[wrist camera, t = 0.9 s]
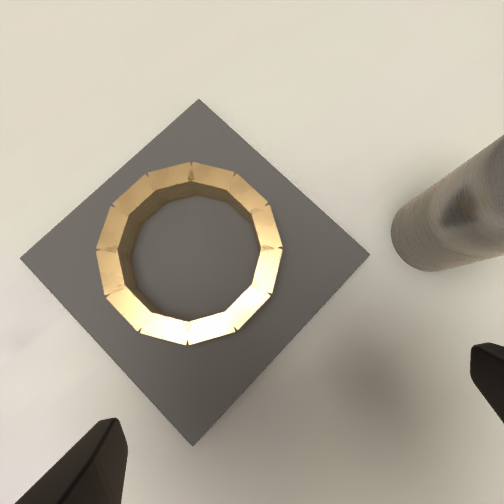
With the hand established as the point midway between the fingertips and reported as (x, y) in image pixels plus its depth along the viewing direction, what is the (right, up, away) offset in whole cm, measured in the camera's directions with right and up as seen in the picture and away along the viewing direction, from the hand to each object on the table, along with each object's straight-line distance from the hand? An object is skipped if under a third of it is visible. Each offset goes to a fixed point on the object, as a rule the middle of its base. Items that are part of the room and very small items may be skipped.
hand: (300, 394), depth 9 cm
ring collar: (-5, +3, +14) cm, 15 cm away
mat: (-5, +3, +14) cm, 15 cm away
